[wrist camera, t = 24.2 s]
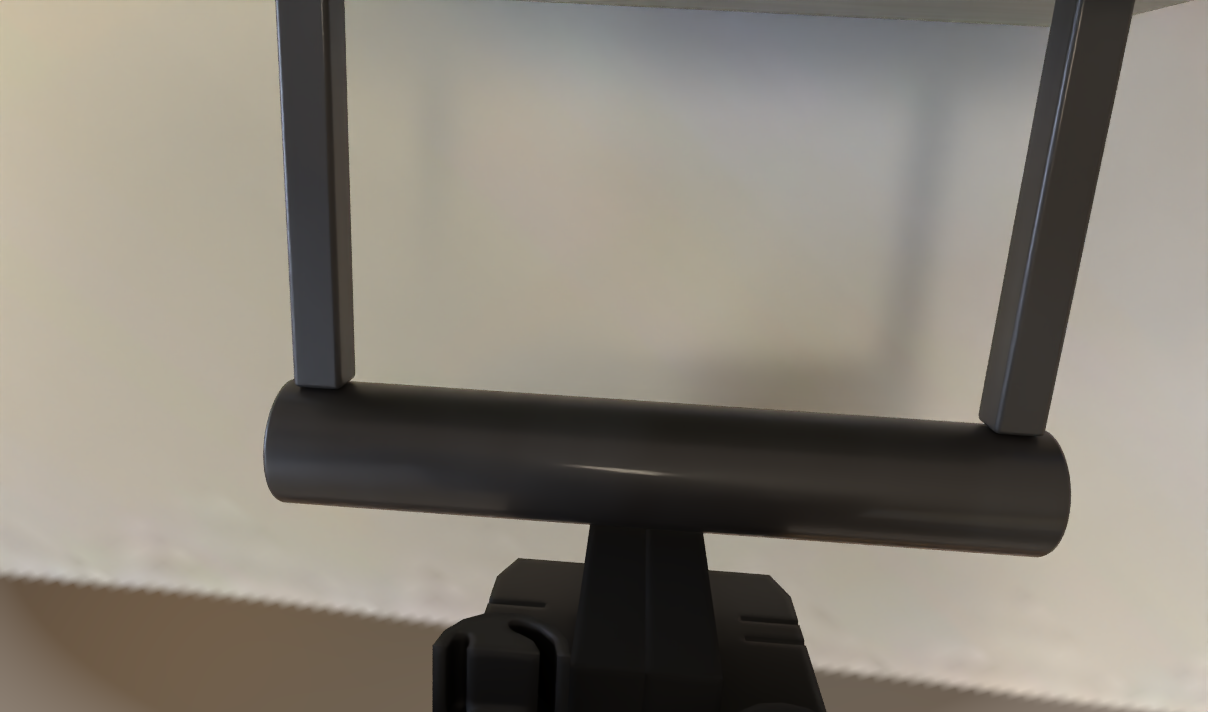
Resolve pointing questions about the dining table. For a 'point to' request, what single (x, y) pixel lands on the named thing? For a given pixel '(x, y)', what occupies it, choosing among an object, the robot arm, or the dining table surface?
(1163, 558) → the dining table surface
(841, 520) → the drawer
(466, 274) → the dining table surface
